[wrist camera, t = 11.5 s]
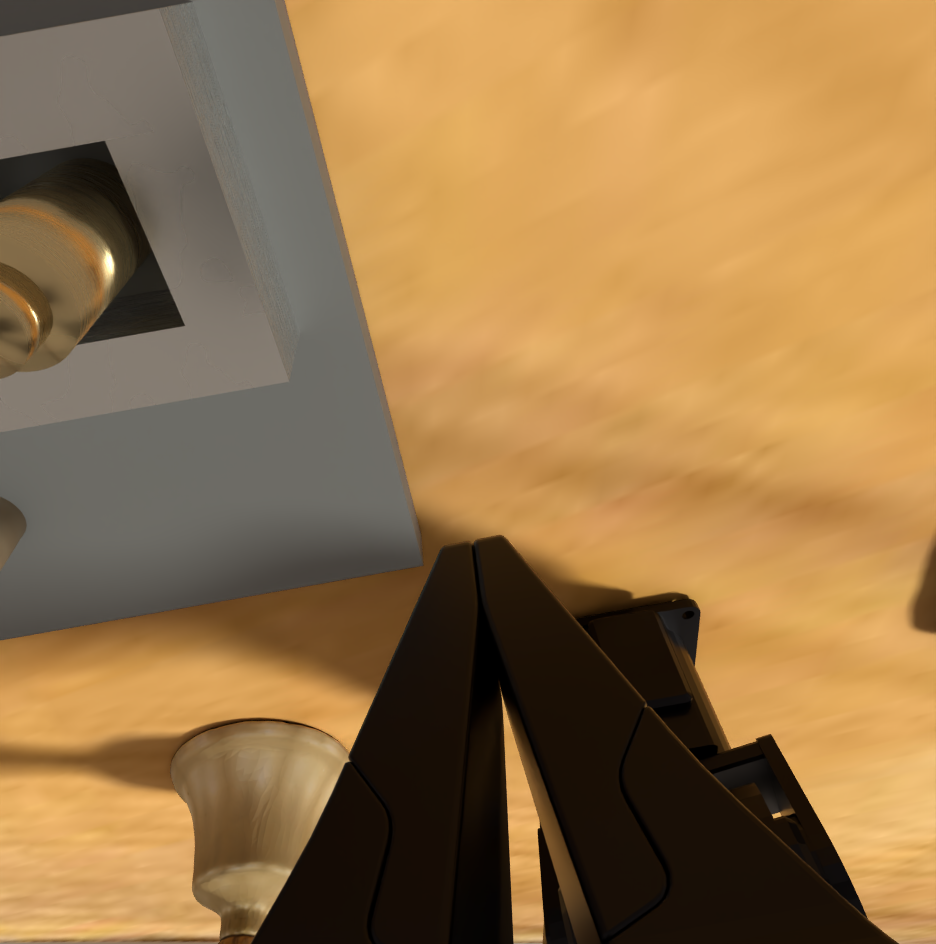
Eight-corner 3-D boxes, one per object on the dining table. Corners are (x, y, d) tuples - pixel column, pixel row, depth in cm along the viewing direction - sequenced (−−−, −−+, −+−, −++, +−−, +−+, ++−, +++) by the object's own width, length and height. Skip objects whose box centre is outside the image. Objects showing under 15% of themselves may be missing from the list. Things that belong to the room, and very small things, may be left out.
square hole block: (300, 333, 17) (289, 381, 15) (31, 380, 17) (-16, 434, 15) (193, 2, 13) (158, 8, 11) (-166, 65, 13) (-266, 84, 11)
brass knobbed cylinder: (175, 258, 16) (85, 387, 11) (74, 276, 16) (-60, 413, 11) (129, 148, 14) (1, 241, 9) (18, 168, 14) (-165, 271, 9)
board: (421, 535, 24) (423, 565, 23) (-49, 618, 24) (-71, 653, 23) (263, -80, 13) (252, -84, 12) (-568, 73, 13) (-661, 83, 12)
